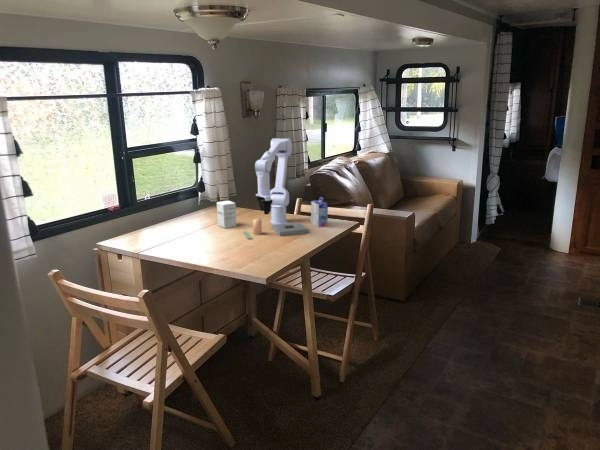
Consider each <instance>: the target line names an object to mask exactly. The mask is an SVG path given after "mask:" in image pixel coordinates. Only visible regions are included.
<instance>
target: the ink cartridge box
mask: <svg viewBox="0 0 600 450" xmlns="http://www.w3.org/2000/svg"><path fill="white" fill-rule="evenodd" d="M310 202H311V208H310V209H311V211H310V223H311V225H314V226H315V227H316V228H317V227H318V228H320V227H321V228H322V227H324V228H325V227H328V222H329V221H328V219H329V217H328V213H329V212H328V211H329V210H328V209H329V206H328V205H329V203H327V202H324V197H322V196H320V197H319V199H318V200H311V201H310Z"/></svg>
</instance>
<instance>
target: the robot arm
mask: <svg viewBox="0 0 600 450" xmlns="http://www.w3.org/2000/svg"><path fill="white" fill-rule="evenodd" d="M292 148H293V144H292V140H291V138H289V137H288V138H277V137H276V138H275V137H273V138H272V139H271V140H270V147H269V150H266V151H265V152H264V153H263V155H262V156H261V157H260V159H257V160H256V161H255V163H254V170H255V174H256V177H257V178H256V179H257V193H255V197H256V199H257V201H258V205H259V208H260V211H262V212H263V213H264V215H269V214H270V215H271V219H269V222H271V223H272V225H275V224H285V223H289V221H287V206H289V203H290V193H289V191H288V190H287V189H286V188H285V185H286V177H287V170H288V169H287V166H288V159H289V157H290V156H291V155H292ZM276 156H277V159H278V160H277V167H276V168H277V169H276V176H275V184H274V188H272V189H271V186H270V185H271V184H270V172H271V169H272V166H273V162H275V160H276Z"/></svg>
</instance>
